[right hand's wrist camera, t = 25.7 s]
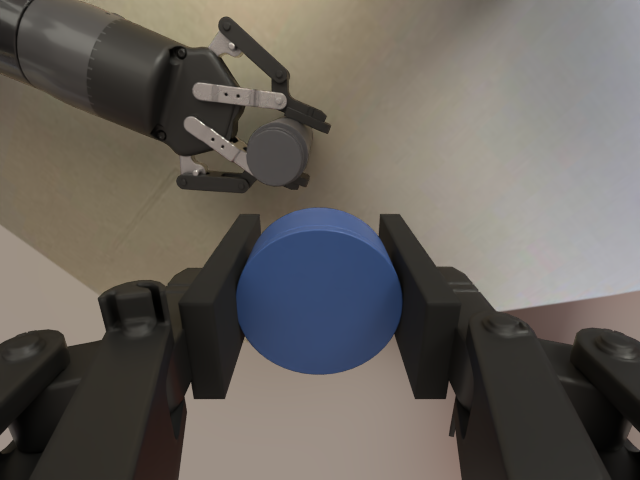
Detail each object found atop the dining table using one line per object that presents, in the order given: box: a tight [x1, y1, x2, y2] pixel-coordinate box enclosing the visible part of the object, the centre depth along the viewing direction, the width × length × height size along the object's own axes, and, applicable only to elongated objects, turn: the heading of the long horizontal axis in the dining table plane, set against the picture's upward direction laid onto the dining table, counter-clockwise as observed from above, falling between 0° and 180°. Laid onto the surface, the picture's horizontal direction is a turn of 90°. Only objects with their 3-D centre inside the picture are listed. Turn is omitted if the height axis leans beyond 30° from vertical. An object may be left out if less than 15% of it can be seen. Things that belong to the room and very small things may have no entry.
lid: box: [236, 208, 403, 375], centre depth 11 cm, size 5×5×2 cm
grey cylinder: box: [246, 116, 313, 186], centre depth 29 cm, size 4×4×16 cm
